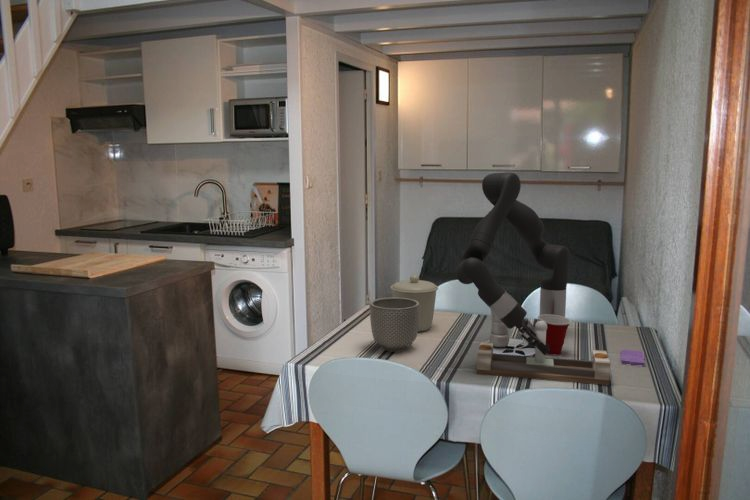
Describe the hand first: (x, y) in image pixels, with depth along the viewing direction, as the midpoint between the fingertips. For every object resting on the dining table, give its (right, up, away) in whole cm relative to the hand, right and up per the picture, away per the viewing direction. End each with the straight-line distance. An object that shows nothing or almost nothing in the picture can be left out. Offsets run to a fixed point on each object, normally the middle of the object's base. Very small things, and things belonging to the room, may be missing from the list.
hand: (547, 350), depth 187 cm
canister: (-37, 0, +49) cm, 62 cm away
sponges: (+32, -6, +13) cm, 35 cm away
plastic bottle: (-9, -3, +27) cm, 29 cm away
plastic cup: (+8, -4, +20) cm, 22 cm away
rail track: (-1, -7, +1) cm, 7 cm away
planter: (-46, -3, +26) cm, 53 cm away
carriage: (-2, -5, +1) cm, 6 cm away
